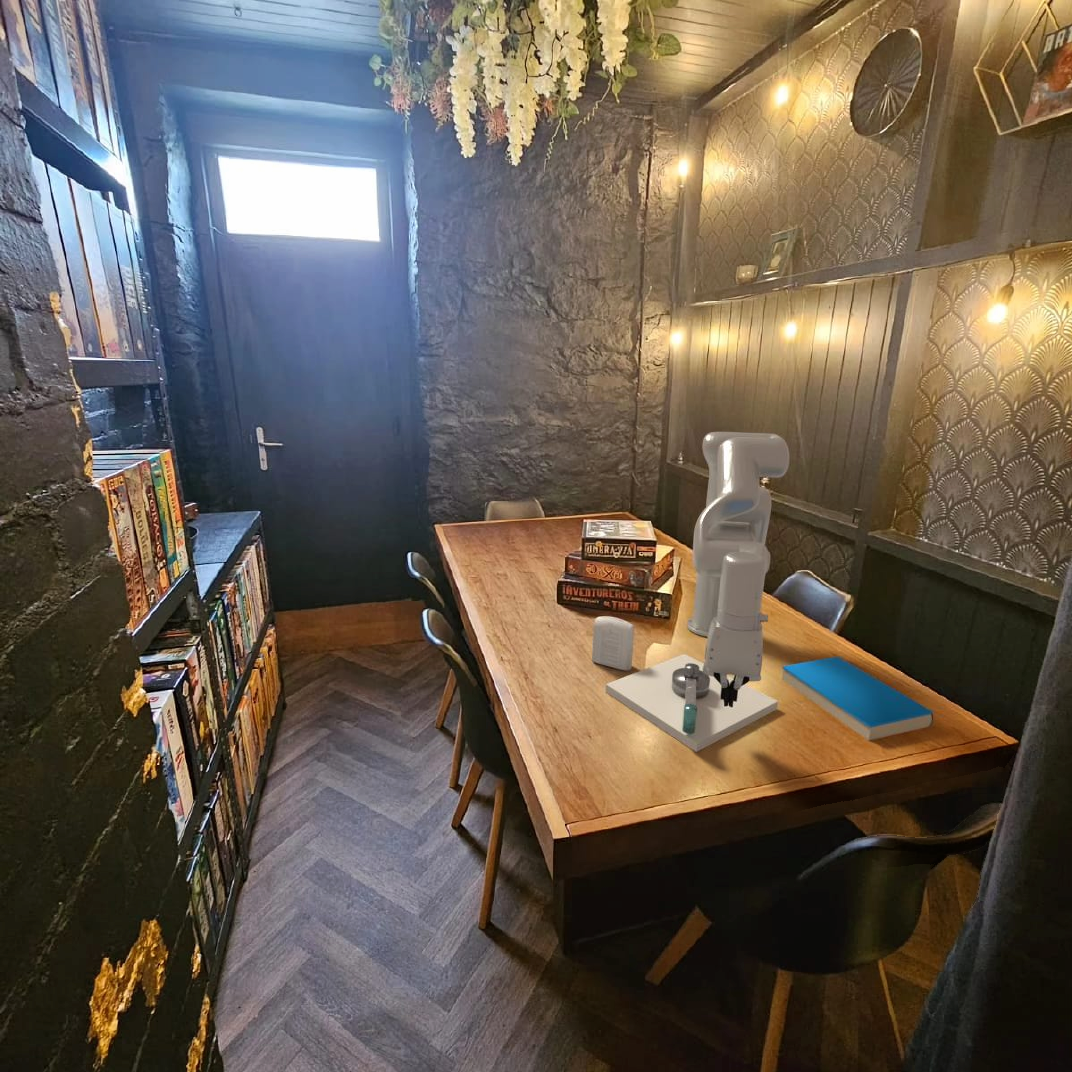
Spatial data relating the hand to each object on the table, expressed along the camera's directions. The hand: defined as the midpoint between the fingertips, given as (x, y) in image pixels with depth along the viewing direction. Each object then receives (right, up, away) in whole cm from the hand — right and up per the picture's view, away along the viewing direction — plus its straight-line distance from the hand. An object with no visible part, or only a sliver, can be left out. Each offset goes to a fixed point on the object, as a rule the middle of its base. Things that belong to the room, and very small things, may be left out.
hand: (728, 702), depth 113 cm
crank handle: (-5, -3, +8) cm, 10 cm away
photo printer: (-19, +1, +30) cm, 36 cm away
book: (+32, -5, +15) cm, 36 cm away
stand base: (-4, -4, +14) cm, 15 cm away
